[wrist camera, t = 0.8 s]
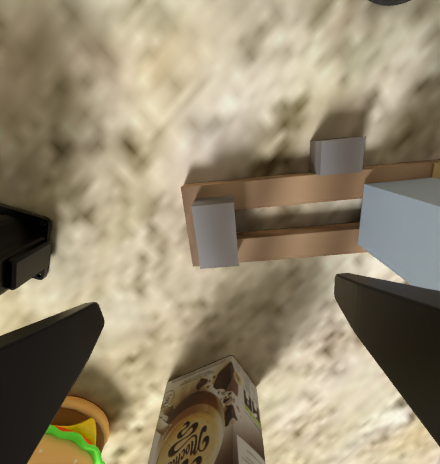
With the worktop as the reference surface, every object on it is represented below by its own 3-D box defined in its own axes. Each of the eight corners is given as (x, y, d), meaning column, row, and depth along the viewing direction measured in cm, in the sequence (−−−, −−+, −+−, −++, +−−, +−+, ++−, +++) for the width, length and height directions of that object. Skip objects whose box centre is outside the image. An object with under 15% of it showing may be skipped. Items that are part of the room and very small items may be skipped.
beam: (195, 258, 23) (189, 281, 19) (179, 154, 20) (169, 157, 16) (458, 236, 22) (507, 255, 18) (488, 122, 18) (556, 117, 15)
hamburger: (35, 443, 33) (-26, 540, 25) (18, 381, 29) (-61, 473, 21) (122, 450, 34) (89, 548, 26) (117, 390, 29) (77, 484, 21)
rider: (347, 237, 22) (453, 318, 12) (352, 180, 20) (482, 218, 10) (405, 232, 21) (565, 311, 11) (416, 174, 20) (616, 207, 10)
